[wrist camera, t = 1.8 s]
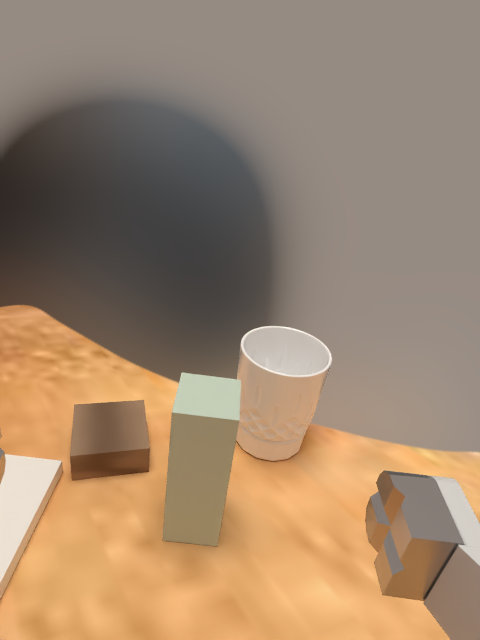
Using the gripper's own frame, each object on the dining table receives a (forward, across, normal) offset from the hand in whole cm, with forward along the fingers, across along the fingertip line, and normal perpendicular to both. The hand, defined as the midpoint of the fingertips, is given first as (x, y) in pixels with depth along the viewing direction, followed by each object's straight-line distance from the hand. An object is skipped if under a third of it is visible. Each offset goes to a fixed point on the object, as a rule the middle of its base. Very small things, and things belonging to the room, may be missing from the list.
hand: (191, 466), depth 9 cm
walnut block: (+21, +8, +22) cm, 32 cm away
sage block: (+15, 0, +22) cm, 27 cm away
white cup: (+25, -6, +22) cm, 34 cm away
